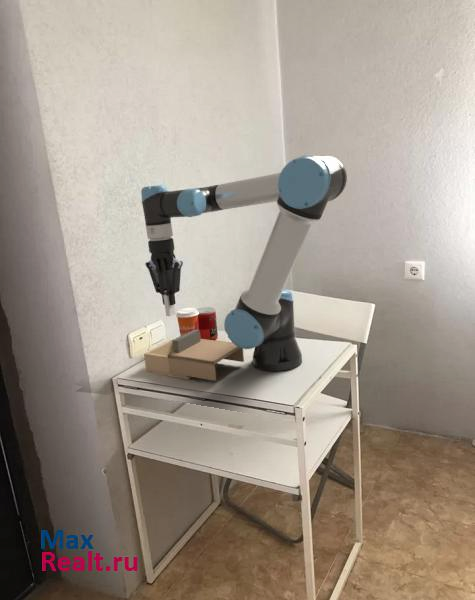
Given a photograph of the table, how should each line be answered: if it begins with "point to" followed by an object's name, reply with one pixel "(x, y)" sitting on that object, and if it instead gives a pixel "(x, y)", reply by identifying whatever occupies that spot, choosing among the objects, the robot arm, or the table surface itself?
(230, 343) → the box lid
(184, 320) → the paper cup
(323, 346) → the table surface
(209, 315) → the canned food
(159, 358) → the box
